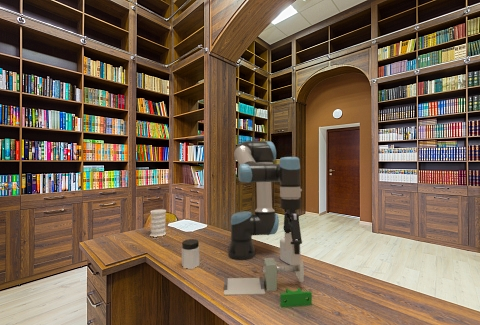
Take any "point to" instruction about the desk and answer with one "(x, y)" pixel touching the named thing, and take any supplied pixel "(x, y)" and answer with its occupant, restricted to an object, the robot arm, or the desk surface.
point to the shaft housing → (270, 274)
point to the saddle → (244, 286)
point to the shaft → (292, 270)
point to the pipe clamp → (295, 298)
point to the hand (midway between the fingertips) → (292, 256)
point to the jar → (190, 253)
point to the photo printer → (285, 252)
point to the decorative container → (158, 222)
